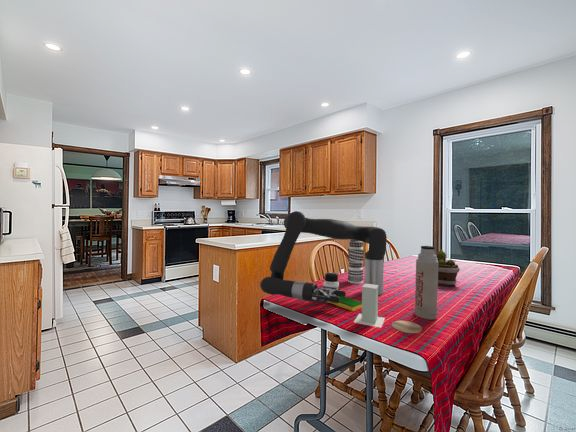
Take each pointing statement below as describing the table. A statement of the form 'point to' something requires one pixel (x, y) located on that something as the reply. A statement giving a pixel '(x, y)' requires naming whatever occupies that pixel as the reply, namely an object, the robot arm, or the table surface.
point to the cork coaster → (406, 326)
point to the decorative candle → (355, 261)
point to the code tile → (359, 320)
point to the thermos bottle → (426, 283)
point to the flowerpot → (446, 270)
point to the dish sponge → (348, 303)
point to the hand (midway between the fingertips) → (342, 297)
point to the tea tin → (369, 303)
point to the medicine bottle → (331, 280)
